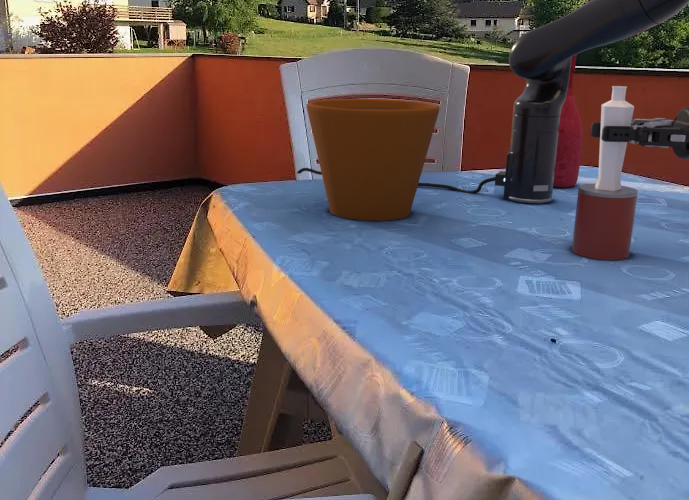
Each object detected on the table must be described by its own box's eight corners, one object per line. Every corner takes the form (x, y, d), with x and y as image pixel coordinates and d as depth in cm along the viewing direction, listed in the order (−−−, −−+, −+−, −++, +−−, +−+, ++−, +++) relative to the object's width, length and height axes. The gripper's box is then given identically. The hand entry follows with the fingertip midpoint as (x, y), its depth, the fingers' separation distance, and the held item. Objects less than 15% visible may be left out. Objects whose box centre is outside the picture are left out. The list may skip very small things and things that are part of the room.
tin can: (567, 255, 108) (574, 190, 105) (576, 242, 115) (582, 181, 112) (626, 263, 104) (635, 196, 101) (631, 249, 111) (639, 186, 109)
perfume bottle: (626, 192, 104) (639, 87, 100) (595, 190, 105) (607, 87, 101) (621, 186, 108) (633, 86, 104) (591, 185, 109) (602, 85, 105)
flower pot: (288, 221, 125) (287, 105, 119) (327, 195, 147) (328, 96, 141) (421, 232, 119) (428, 111, 113) (441, 203, 141) (447, 101, 135)
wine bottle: (580, 183, 165) (595, 49, 157) (574, 190, 157) (590, 49, 148) (537, 179, 169) (549, 48, 161) (529, 186, 160) (542, 48, 152)
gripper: (694, 103, 110) (584, 101, 110) (743, 112, 96) (617, 110, 96) (687, 151, 112) (579, 150, 112) (734, 166, 98) (611, 164, 98)
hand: (597, 131), depth 104 cm, fingers closed on perfume bottle, 4 cm apart
